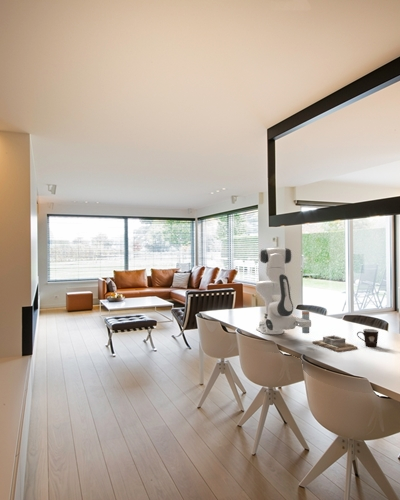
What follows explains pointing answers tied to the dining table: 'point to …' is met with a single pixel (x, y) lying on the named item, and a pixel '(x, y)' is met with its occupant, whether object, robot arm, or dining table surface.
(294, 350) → the dining table surface
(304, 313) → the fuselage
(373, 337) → the coffee mug
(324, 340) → the assembly jig
